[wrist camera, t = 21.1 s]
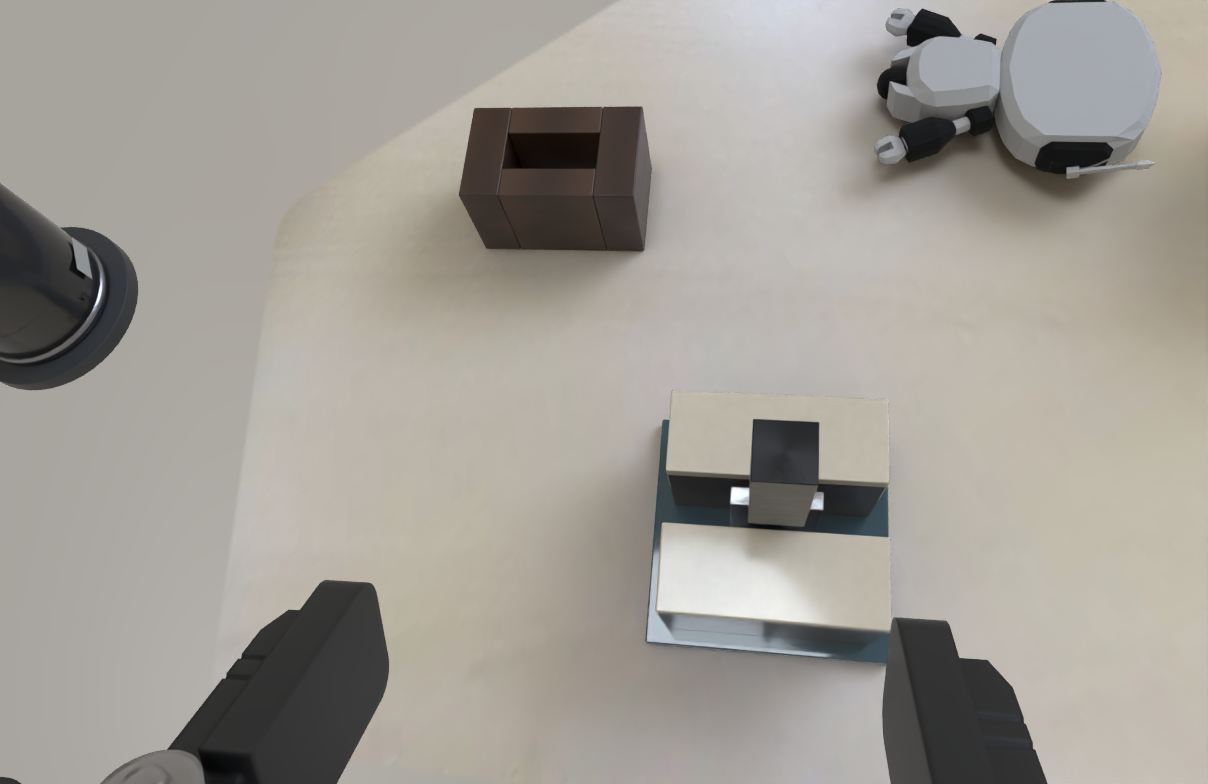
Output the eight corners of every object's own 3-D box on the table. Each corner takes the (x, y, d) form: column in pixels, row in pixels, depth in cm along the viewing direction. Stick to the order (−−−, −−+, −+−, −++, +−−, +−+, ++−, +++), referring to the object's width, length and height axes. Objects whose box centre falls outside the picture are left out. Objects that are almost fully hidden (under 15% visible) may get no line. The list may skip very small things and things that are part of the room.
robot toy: (866, 196, 54) (1140, 206, 50) (871, 151, 50) (1171, 157, 46) (880, 37, 58) (1136, 34, 54) (886, -18, 54) (1163, -25, 50)
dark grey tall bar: (729, 555, 46) (728, 480, 32) (731, 509, 46) (731, 417, 33) (808, 561, 45) (842, 486, 31) (809, 515, 46) (842, 422, 32)
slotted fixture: (646, 643, 45) (630, 628, 38) (663, 423, 50) (652, 373, 43) (887, 665, 44) (917, 653, 36) (884, 434, 48) (910, 383, 41)
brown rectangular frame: (485, 248, 55) (458, 195, 50) (499, 167, 57) (473, 107, 52) (644, 251, 54) (633, 196, 48) (651, 167, 56) (642, 105, 50)
